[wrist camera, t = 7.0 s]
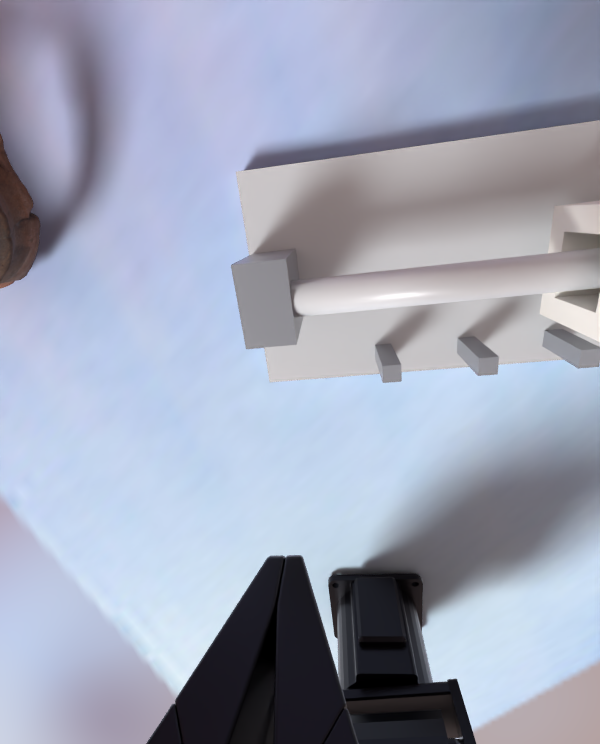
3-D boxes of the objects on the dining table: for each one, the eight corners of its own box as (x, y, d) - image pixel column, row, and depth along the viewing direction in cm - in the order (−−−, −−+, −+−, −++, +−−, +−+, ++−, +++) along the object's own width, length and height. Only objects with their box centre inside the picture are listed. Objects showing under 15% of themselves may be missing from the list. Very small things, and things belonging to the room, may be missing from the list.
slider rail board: (272, 374, 21) (247, 447, 14) (240, 174, 17) (186, 149, 10) (709, 340, 18) (917, 408, 12) (789, 96, 14) (1163, 1, 8)
